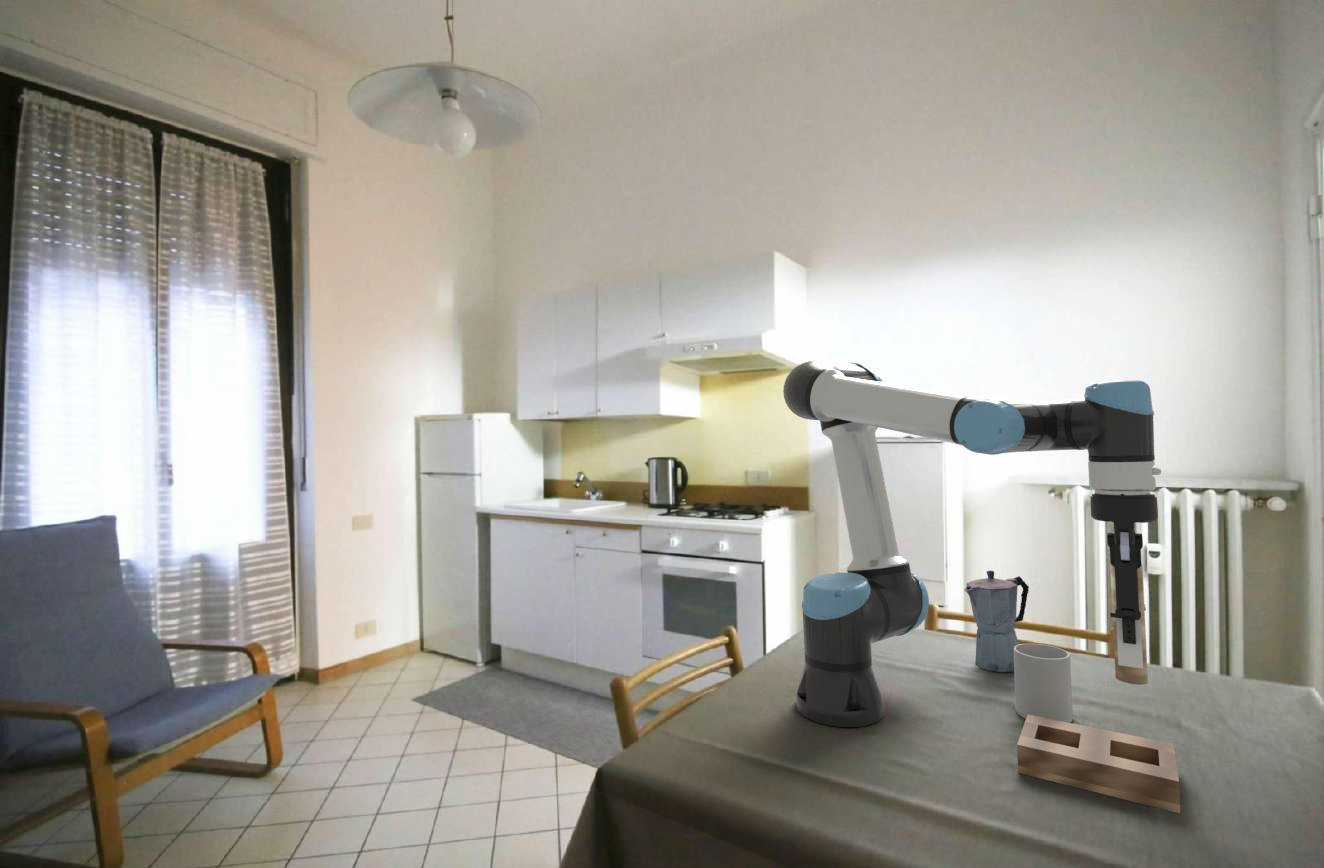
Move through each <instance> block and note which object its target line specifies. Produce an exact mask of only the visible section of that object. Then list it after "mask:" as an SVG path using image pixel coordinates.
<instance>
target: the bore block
mask: <svg viewBox="0 0 1324 868" xmlns="http://www.w3.org/2000/svg"><path fill="white" fill-rule="evenodd" d="M1016 750H1017V751H1016V752H1017V753H1016V754H1017V756H1016V757H1017V773H1018V774H1023V775H1026V776H1030V777H1035V778H1038V779H1041V780H1046V781H1051V782H1055V783H1057V784H1060V785H1061V784H1062V785H1066V786H1069V787H1074V788H1076V789H1077V788H1078V789H1081V790H1085V791H1089V792H1093V793H1097V794H1102V795H1106V796H1110V797H1113V798H1118V799H1122V800H1124V801H1125V800H1126V801H1129V802H1133V803H1134V802H1135V803H1138V804H1142V805H1146V806H1149V807H1154V808H1158V809H1161V810H1166V811H1169V812H1174V813H1177V814H1181V795H1180V778H1179V771H1178V766H1177V757H1176V753H1175V752H1176V751H1175V745H1174V743H1172V742H1168V741H1167V742H1166V741H1162V740H1157V739H1152V738H1146V737H1144V736H1143V737H1142V736H1138V735H1133V734H1127V733H1122V732H1118V731H1113V730H1107V729H1103V728H1097V727H1093V726H1092V727H1091V726H1088V725H1087V726H1086V725H1083V724H1077V723H1072V722H1071V723H1068V722H1063V721H1058V720H1053V719H1048V718H1043V717H1038V716H1034V715H1029V714H1028V715H1027V718H1026V719H1025V721H1024V724H1023V727H1022V729H1021V732H1020V735H1019V738H1018V740H1017V744H1016Z"/></svg>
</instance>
